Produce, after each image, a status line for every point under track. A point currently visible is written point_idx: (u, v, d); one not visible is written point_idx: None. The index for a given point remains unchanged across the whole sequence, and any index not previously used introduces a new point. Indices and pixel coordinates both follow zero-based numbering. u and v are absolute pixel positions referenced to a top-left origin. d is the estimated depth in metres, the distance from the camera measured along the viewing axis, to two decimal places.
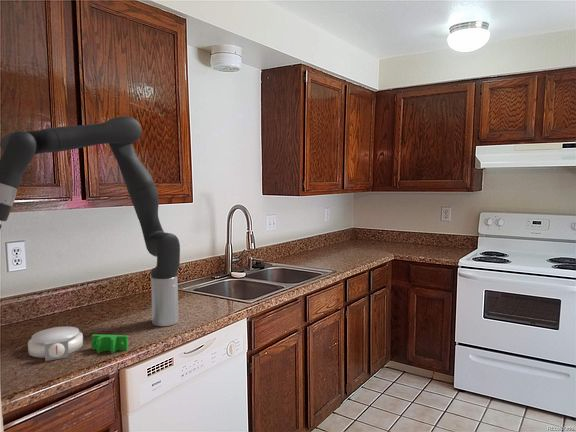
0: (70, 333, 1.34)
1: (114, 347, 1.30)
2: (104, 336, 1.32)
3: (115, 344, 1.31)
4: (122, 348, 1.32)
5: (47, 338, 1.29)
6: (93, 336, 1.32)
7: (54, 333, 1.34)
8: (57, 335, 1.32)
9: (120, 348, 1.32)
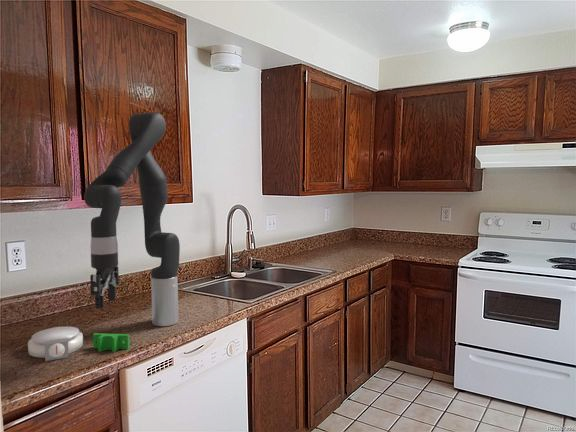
0: (70, 333, 1.34)
1: (116, 346, 1.31)
2: (105, 335, 1.33)
3: (116, 343, 1.32)
4: (123, 347, 1.33)
5: (47, 338, 1.29)
6: (94, 335, 1.33)
7: (54, 333, 1.34)
8: (57, 335, 1.32)
9: (121, 347, 1.33)
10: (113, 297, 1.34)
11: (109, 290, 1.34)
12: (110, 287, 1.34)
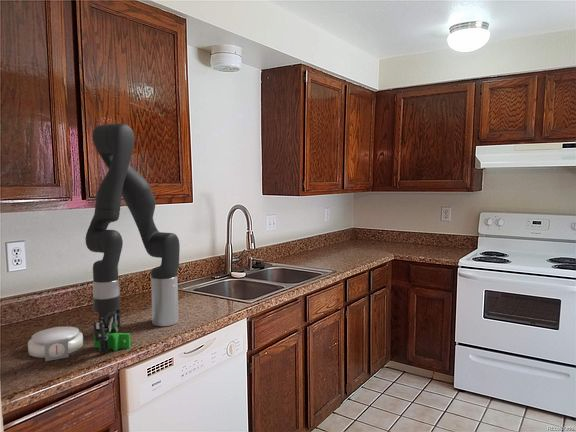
0: (70, 333, 1.34)
1: (117, 345, 1.32)
2: None
3: (117, 342, 1.32)
4: (124, 346, 1.33)
5: (47, 338, 1.29)
6: None
7: (54, 333, 1.34)
8: (57, 335, 1.32)
9: (122, 346, 1.33)
10: None
11: None
12: (111, 331, 1.35)
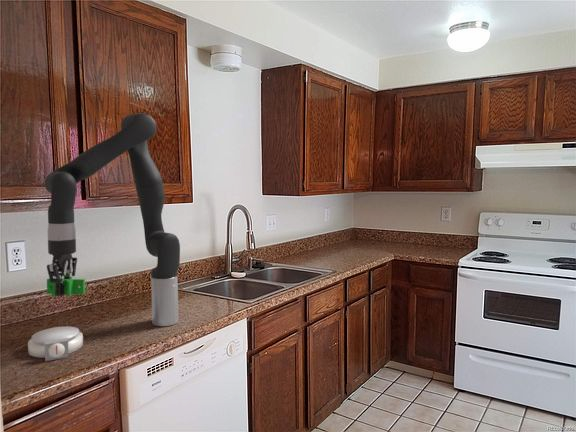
0: (70, 333, 1.34)
1: (71, 290, 1.30)
2: None
3: (71, 287, 1.31)
4: (79, 291, 1.32)
5: (47, 338, 1.29)
6: (48, 280, 1.32)
7: (54, 333, 1.34)
8: (57, 335, 1.32)
9: (76, 292, 1.32)
10: None
11: None
12: None
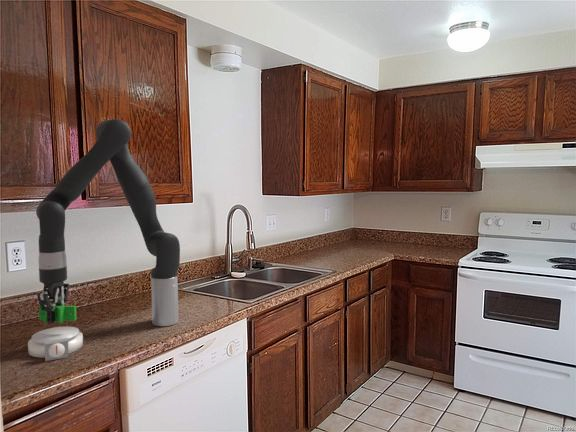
0: (70, 333, 1.34)
1: (62, 317, 1.32)
2: None
3: (63, 314, 1.32)
4: (70, 318, 1.34)
5: (47, 338, 1.29)
6: (40, 307, 1.33)
7: (54, 333, 1.34)
8: (57, 335, 1.32)
9: (68, 318, 1.34)
10: None
11: None
12: None
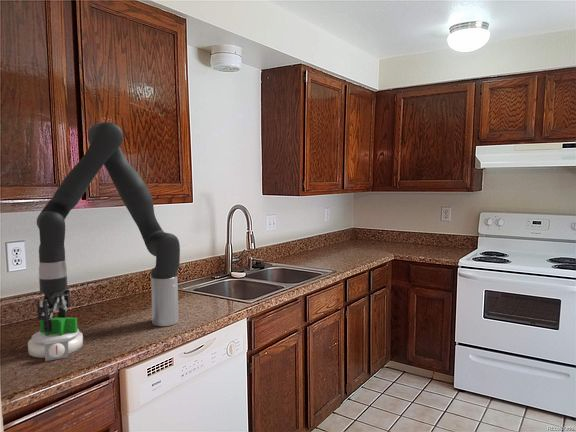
0: (70, 333, 1.34)
1: (63, 329, 1.32)
2: (52, 319, 1.33)
3: (63, 326, 1.33)
4: (71, 330, 1.34)
5: (47, 338, 1.29)
6: None
7: None
8: (57, 335, 1.32)
9: (69, 330, 1.34)
10: None
11: (59, 314, 1.36)
12: (60, 311, 1.37)
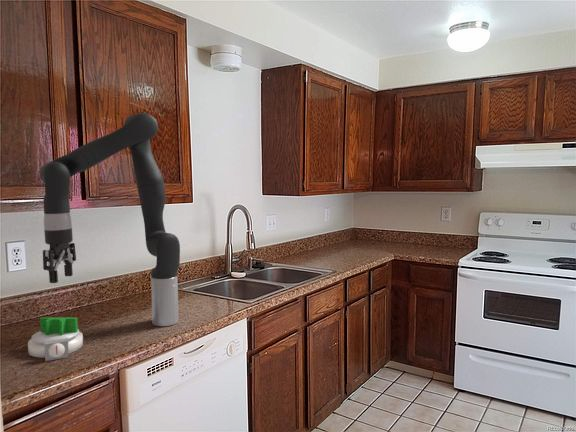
0: (70, 333, 1.34)
1: (63, 329, 1.33)
2: (53, 318, 1.34)
3: (64, 326, 1.33)
4: (71, 330, 1.34)
5: (47, 338, 1.29)
6: (42, 319, 1.34)
7: (54, 333, 1.34)
8: (57, 335, 1.32)
9: (69, 330, 1.34)
10: (70, 273, 1.37)
11: (65, 267, 1.37)
12: (67, 264, 1.37)
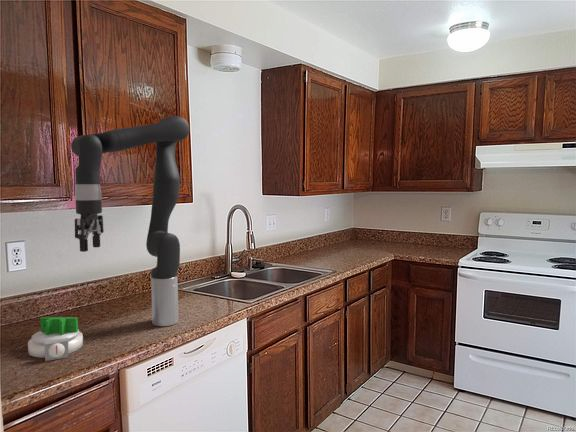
0: (70, 333, 1.34)
1: (63, 328, 1.33)
2: (53, 318, 1.34)
3: (64, 326, 1.33)
4: (71, 330, 1.34)
5: (47, 338, 1.29)
6: (42, 319, 1.34)
7: (54, 333, 1.34)
8: (57, 335, 1.32)
9: (69, 330, 1.34)
10: (98, 244, 1.41)
11: (93, 238, 1.41)
12: (95, 235, 1.41)
